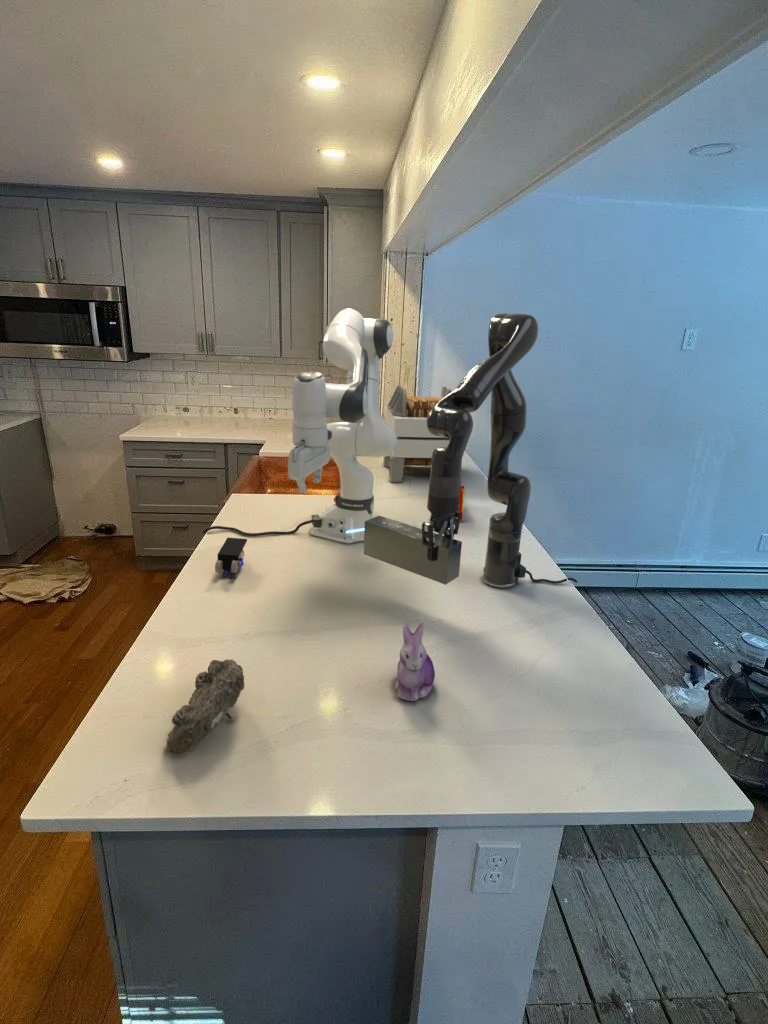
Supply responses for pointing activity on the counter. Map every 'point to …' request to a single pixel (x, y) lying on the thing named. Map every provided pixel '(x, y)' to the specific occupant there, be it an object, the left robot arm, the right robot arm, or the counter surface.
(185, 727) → the fossil
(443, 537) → the box
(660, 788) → the counter surface
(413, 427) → the transformer
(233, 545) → the figurine character
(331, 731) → the counter surface
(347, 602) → the counter surface
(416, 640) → the figurine
